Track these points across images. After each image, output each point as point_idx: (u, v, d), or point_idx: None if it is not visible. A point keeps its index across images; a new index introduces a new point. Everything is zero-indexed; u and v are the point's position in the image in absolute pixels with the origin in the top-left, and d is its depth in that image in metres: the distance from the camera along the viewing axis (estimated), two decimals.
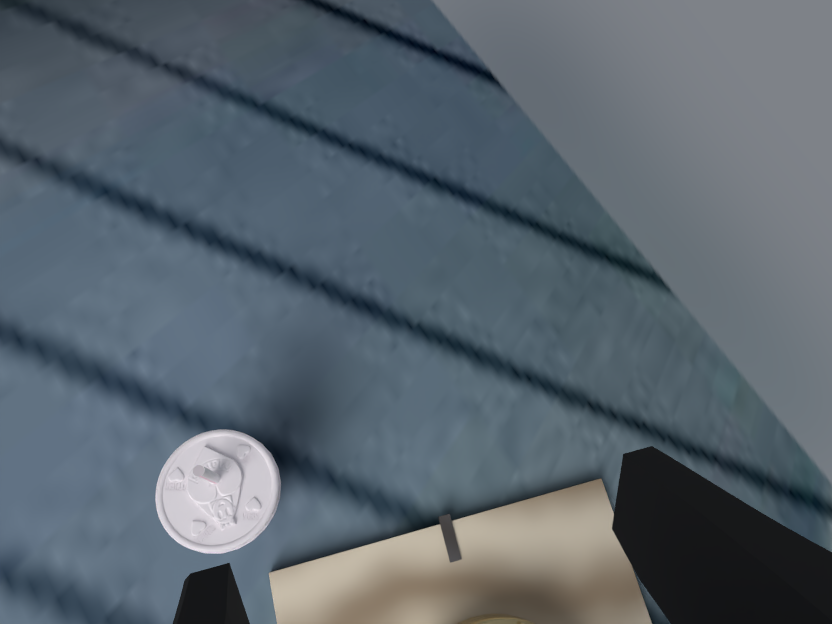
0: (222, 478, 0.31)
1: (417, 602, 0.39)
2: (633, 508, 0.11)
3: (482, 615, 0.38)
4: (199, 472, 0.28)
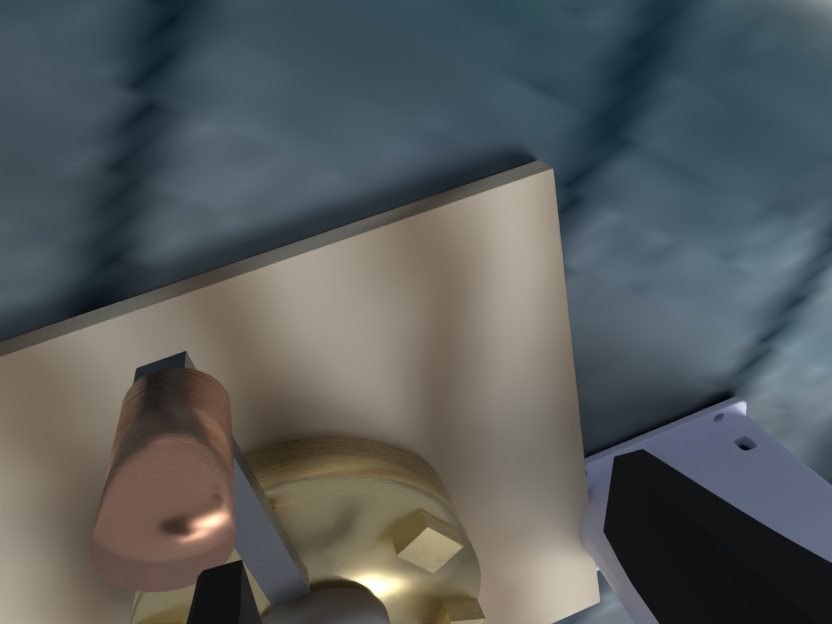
0: None
1: None
2: (624, 511, 0.11)
3: None
4: None
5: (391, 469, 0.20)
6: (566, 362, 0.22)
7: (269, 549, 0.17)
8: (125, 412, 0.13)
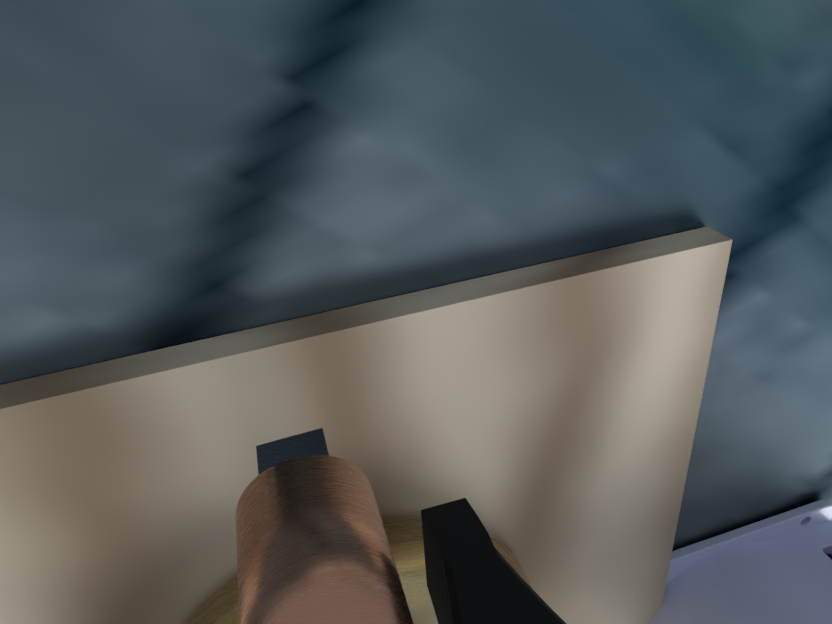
0: None
1: None
2: (432, 568, 0.10)
3: None
4: None
5: None
6: (683, 453, 0.20)
7: None
8: (260, 519, 0.09)
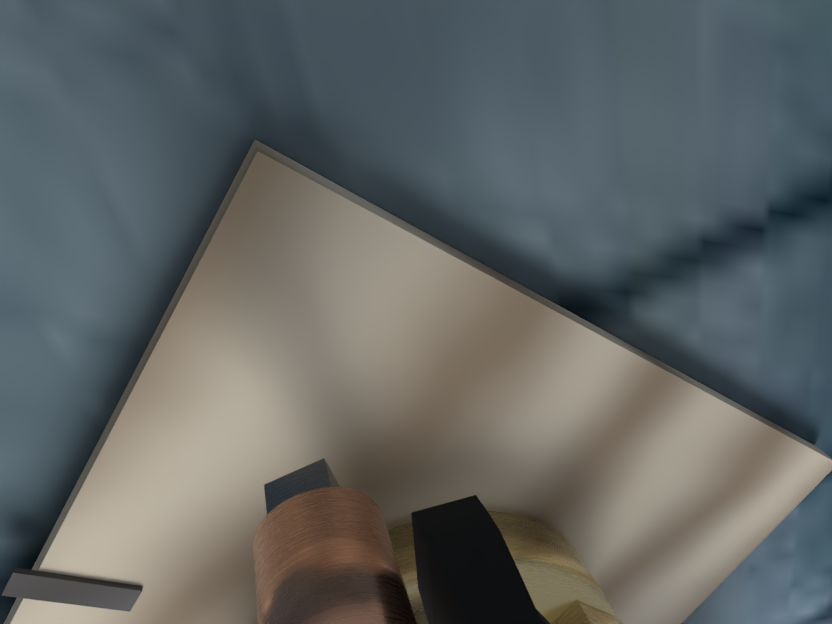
0: None
1: None
2: (422, 571, 0.10)
3: None
4: None
5: (532, 549, 0.17)
6: (702, 596, 0.25)
7: None
8: (269, 560, 0.10)
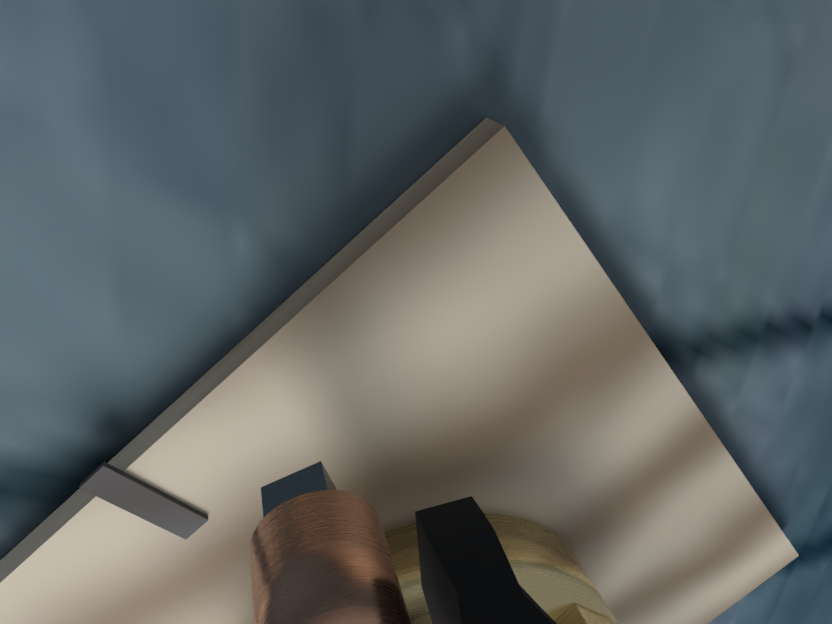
0: None
1: (168, 620, 0.16)
2: (426, 570, 0.10)
3: None
4: None
5: (530, 552, 0.17)
6: None
7: None
8: (265, 563, 0.10)
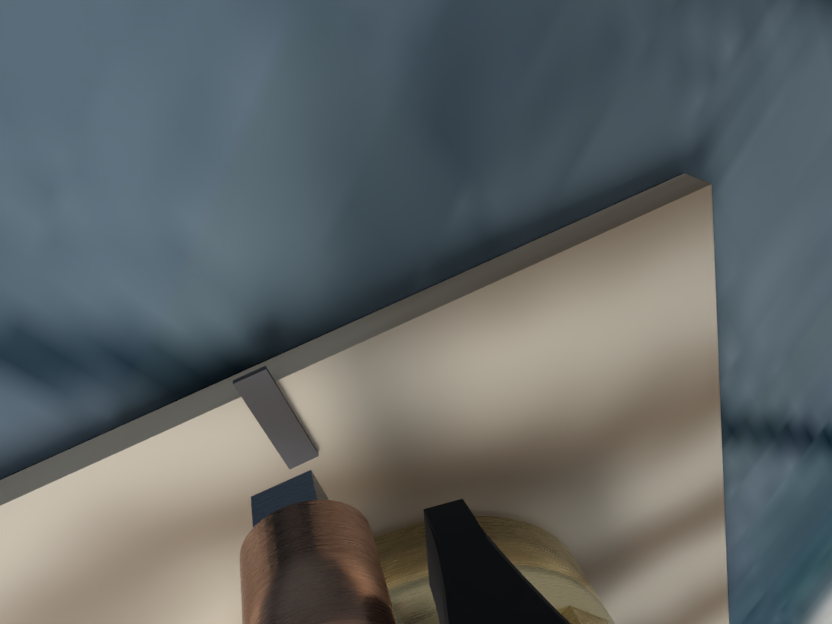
0: None
1: (221, 552, 0.16)
2: (434, 568, 0.10)
3: None
4: None
5: (526, 555, 0.17)
6: None
7: None
8: (254, 575, 0.10)
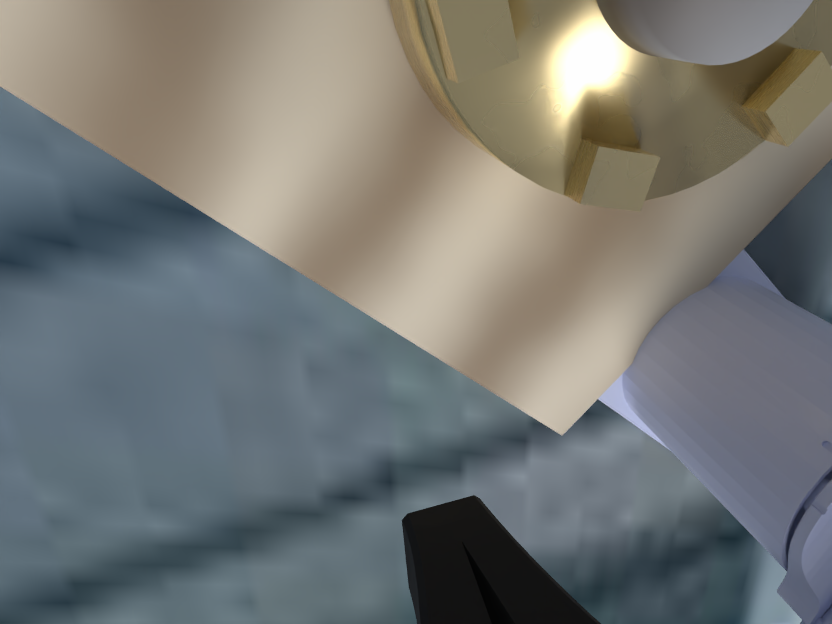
0: None
1: None
2: None
3: (443, 114, 0.16)
4: None
5: None
6: None
7: None
8: None
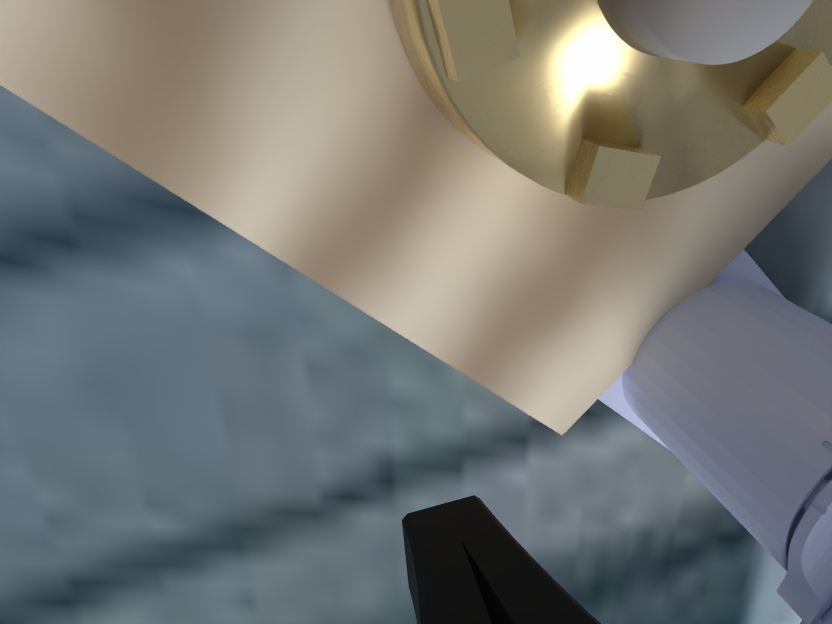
0: None
1: None
2: None
3: (443, 114, 0.16)
4: None
5: None
6: None
7: None
8: None
